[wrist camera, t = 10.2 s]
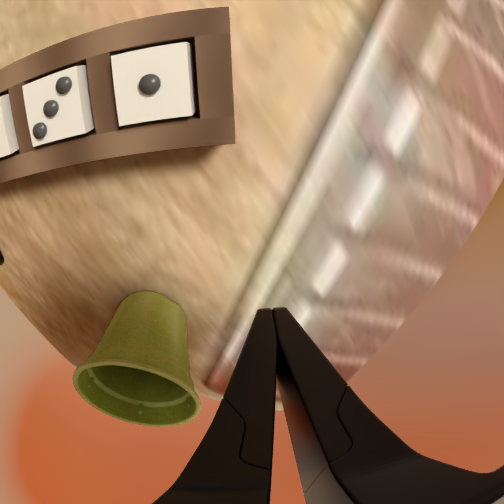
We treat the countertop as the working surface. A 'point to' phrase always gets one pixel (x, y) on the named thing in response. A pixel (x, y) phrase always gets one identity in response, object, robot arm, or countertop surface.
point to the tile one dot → (155, 83)
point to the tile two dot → (7, 128)
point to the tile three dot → (59, 105)
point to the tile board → (103, 95)
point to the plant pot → (142, 365)
